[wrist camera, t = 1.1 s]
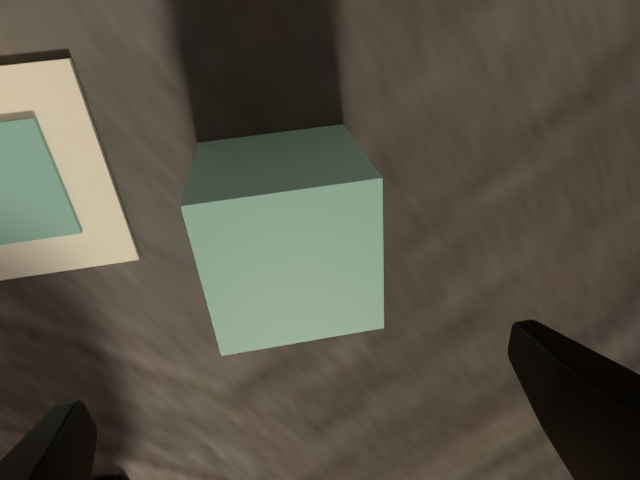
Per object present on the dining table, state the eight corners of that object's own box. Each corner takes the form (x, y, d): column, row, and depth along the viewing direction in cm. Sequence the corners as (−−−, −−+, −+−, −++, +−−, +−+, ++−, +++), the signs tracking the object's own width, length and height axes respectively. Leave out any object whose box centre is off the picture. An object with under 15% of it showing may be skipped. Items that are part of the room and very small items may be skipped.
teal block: (349, 245, 18) (384, 327, 14) (225, 264, 17) (221, 355, 13) (342, 123, 15) (382, 177, 11) (197, 142, 15) (180, 206, 11)
